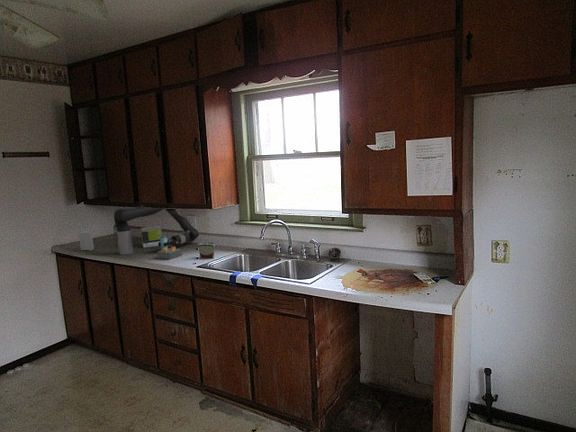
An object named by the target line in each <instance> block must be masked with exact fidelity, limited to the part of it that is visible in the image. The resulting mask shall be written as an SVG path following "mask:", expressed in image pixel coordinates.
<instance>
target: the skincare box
mask: <svg viewBox="0 0 576 432" xmlns="http://www.w3.org/2000/svg"><path fill="white" fill-rule="evenodd" d="M77 235H78V240H79V246H80V251H81V250H89V251H93V250H95V245H94V240H93V235H92V230H87V231H80V232H78V233H77ZM92 249H93V250H92Z"/></svg>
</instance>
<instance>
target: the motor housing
mask: <svg viewBox="0 0 576 432" xmlns="http://www.w3.org/2000/svg"><path fill="white" fill-rule="evenodd" d="M156 255H157V259H160V260H167V261H168V260H169V261H170V260H173V259H176V258H179V257H181V256H183V252H182V249H181V248H176V246H174V245H171V246H170V247H168V249H167V247H165V248H163V250H161V249H160V250H159V251H157V252H156Z"/></svg>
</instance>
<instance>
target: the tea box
mask: <svg viewBox="0 0 576 432" xmlns="http://www.w3.org/2000/svg"><path fill="white" fill-rule="evenodd" d="M140 233H141V244H142V246H143V248H151V247H158V246H159V245H158V243H159V242H160V238H161V236H163V234H162V227H161V226H160V225H157V226H149V227H142V228H141V227H140Z"/></svg>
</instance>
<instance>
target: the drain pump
mask: <svg viewBox="0 0 576 432" xmlns="http://www.w3.org/2000/svg"><path fill="white" fill-rule="evenodd" d="M167 240H168V237H167V236H166V235H162V236H161V238H160V243H161V245H160V251H161V250H163V248H165V247H167V249H168V248H169V245H167V246H164V243H166V242H168V241H167Z"/></svg>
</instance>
